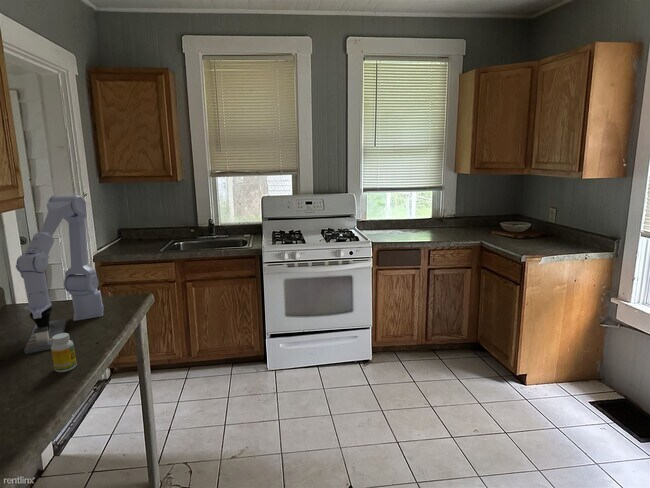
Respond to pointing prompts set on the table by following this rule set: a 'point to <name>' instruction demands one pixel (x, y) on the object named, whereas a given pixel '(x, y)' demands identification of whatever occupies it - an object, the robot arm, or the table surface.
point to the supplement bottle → (63, 353)
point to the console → (34, 346)
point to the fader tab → (41, 334)
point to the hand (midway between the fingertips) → (44, 332)
